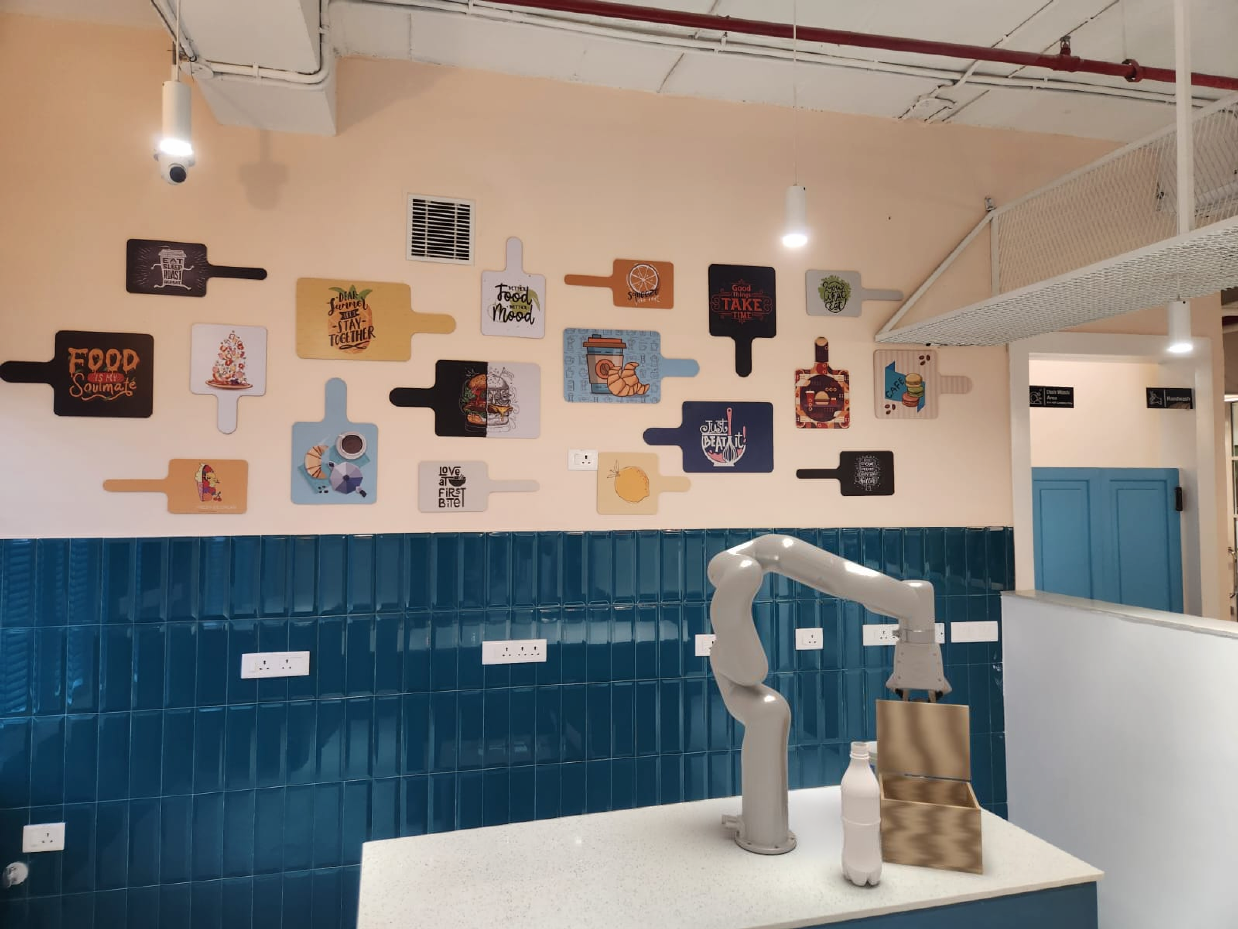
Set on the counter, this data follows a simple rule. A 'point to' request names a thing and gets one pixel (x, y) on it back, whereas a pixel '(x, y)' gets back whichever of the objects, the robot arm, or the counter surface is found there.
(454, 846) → the counter surface
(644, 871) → the counter surface
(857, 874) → the water bottle
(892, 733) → the lid
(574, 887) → the counter surface
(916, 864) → the wooden box
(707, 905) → the counter surface
